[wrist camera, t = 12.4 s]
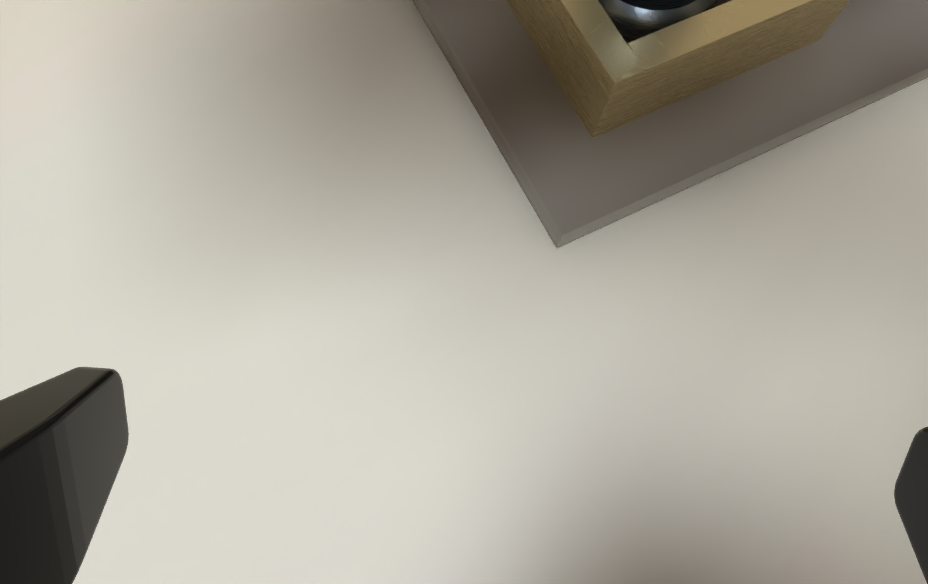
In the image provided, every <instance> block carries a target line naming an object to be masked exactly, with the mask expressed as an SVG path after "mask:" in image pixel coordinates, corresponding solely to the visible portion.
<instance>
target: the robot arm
mask: <svg viewBox="0 0 928 584" xmlns="http://www.w3.org/2000/svg"><path fill="white" fill-rule="evenodd" d="M128 435H129V433H128V423H127V415H126V407H125V399H124V391H123V384H122V380H121V377H120V375H119V373H118V372H117V371H115V370H114V369H107V368H93V367H77V368H74V369H72V370H70V371H68V372H65V373H63V374H61V375H58V376H56V377H54V378H51V379H49V380H47V381H44V382H42V383H40V384H37V385H35V386H33V387H30V388H28V389H26V390H24V391H21V392H19V393H17V394H14V395H12V396H10V397H7V398H5V399H3V400H0V584H72V583H73V581H74V579H75V577H76V575H77V573H78V571H79V569H80V566H81V564H82V562H83V559H84V557H85V554H86V552H87V550H88V547H89V545H90V542H91V539H92V537H93V534H94V532H95V529H96V527H97V524H98V522H99V519H100V517H101V514H102V512H103V509H104V506H105V504H106V501H107V499H108V496H109V494H110V491H111V489H112V486H113V484H114V481H115V479H116V476H117V474H118V471H119V468H120V466H121V463H122V461H123V458H124V456H125V453H126V449H127V445H128ZM894 496H895V503H896V506H897V509H898V512H899V514H900V517H901V519H902V522H903V524H904V527H905V529H906V532H907V535H908V537H909V540H910V542H911V545H912V547H913V550H914V552H915V555H916V557H917V560H918V562H919V565H920V567H921V570H922V572H923V575H924V577H925V580H926V582H927V584H928V427H925V428H923V429H921V430H919V431H918V432H917V434H916V435H915V437H914V438H913V441H912V443H911V446H910V448H909V451H908V453H907V456H906V458H905V461H904V463H903V466H902V468H901V471H900V473H899V476H898V478H897V481H896V484H895V491H894Z"/></svg>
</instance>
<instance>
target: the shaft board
mask: <svg viewBox="0 0 928 584" xmlns="http://www.w3.org/2000/svg"><path fill="white" fill-rule="evenodd" d="M729 1H732V0H718V1H717V3H716V5H715V7H717V6H719V5H722V4H724V3H727V2H729ZM413 2H414V4H415V5H416V7H417V9H418V10H419V12H420V14H421V16H422V17H423V19H424V21H425V23H426V24H427V26H428V28H429V29H430V31H431V33H432V35H433V36H434V38H435V40H436V41H437V43H438V45H439V47H440V48H441V50H442V52H443V53H444V55H445V57H446V59H447V60H448V62H449V64H450V65H451V67H452V69H453V71H454V72H455V74H456V76H457V78H458V79H459V81H460V83H461V84H462V86H463V88H464V90H465V91H466V93H467V95H468V96H469V98H470V100H471V102H472V103H473V105H474V107H475V108H476V110H477V112H478V114H479V115H480V117H481V119H482V120H483V122H484V124H485V126H486V127H487V129H488V131H489V133H490V134H491V136H492V138H493V139H494V141H495V143H496V145H497V146H498V148H499V150H500V151H501V153H502V155H503V157H504V158H505V160H506V162H507V163H508V165H509V167H510V169H511V170H512V172H513V174H514V175H515V177H516V179H517V181H518V182H519V184H520V186H521V188H522V189H523V191H524V193H525V194H526V196H527V198H528V200H529V201H530V203H531V205H532V206H533V208H534V210H535V212H536V213H537V215H538V217H539V218H540V220H541V222H542V224H543V225H544V227H545V229H546V230H547V232H548V234H549V236H550V237H551V239H552V241H553V243H554V244H555V246H556V248H558V247H560V246H563V245H565V244H567V243H569V242H571V241H573V240H576V239H578V238H580V237H582V236H584V235H586V234H589V233H591V232H593V231H595V230H597V229H599V228H602V227H604V226H606V225H608V224H610V223H612V222H615V221H617V220H619V219H621V218H623V217H625V216H628V215H630V214H632V213H634V212H636V211H639V210H641V209H643V208H645V207H647V206H649V205H652V204H654V203H656V202H658V201H660V200H662V199H665V198H667V197H669V196H671V195H673V194H675V193H678V192H680V191H682V190H684V189H686V188H688V187H691V186H693V185H695V184H697V183H699V182H701V181H704V180H706V179H708V178H710V177H712V176H714V175H717V174H719V173H721V172H723V171H725V170H728V169H730V168H732V167H734V166H736V165H738V164H741V163H743V162H745V161H747V160H749V159H751V158H754V157H756V156H758V155H760V154H762V153H764V152H767V151H769V150H771V149H773V148H775V147H777V146H780V145H782V144H784V143H786V142H788V141H790V140H793V139H795V138H797V137H799V136H801V135H803V134H806V133H808V132H810V131H812V130H814V129H817V128H819V127H821V126H823V125H825V124H827V123H830V122H832V121H834V120H836V119H838V118H840V117H843V116H845V115H847V114H849V113H851V112H853V111H856V110H858V109H860V108H862V107H864V106H866V105H869V104H871V103H873V102H875V101H877V100H879V99H882V98H884V97H886V96H888V95H890V94H892V93H895V92H897V91H899V90H901V89H903V88H906V87H908V86H910V85H912V84H914V83H916V82H919V81H921V80H923V79H925V78H927V77H928V0H850V1H849V2H848V4H847V5H846V6H845V7H844V9H843V10H842V11H841V13H840V14H839V15H838V17H837V18H836V19H835V21H834V22H833V23H832V25H831V26H830V27H829V29H828V30H827V31H826V33H825V34H824V35H823V36H822V38H821V39H820V40H819V41H816V42H814V43H812V44H809V45H807V46H805V47H803V48H800V49H798V50H796V51H793V52H791V53H789V54H786V55H784V56H782V57H779V58H777V59H775V60H772V61H770V62H768V63H766V64H763V65H761V66H759V67H756V68H754V69H752V70H749V71H747V72H745V73H742V74H740V75H738V76H736V77H733V78H731V79H729V80H726V81H724V82H722V83H719V84H717V85H715V86H712V87H710V88H708V89H706V90H703V91H701V92H699V93H696V94H694V95H692V96H689V97H687V98H685V99H682V100H680V101H678V102H676V103H673V104H671V105H669V106H666V107H664V108H662V109H659V110H657V111H655V112H652V113H650V114H648V115H646V116H643V117H641V118H639V119H636V120H634V121H632V122H629V123H627V124H625V125H622V126H620V127H618V128H616V129H613V130H611V131H609V132H606V133H604V134H602V135H599V136H597V137H595V138H592V137H591V136H590V134H589V133H588V131H587V129H586V128H585V126H584V125H583V123H582V121H581V120H580V118H579V117H578V115H577V113H576V112H575V110H574V109H573V107H572V105H571V104H570V102H569V101H568V99H567V97H566V96H565V94H564V93H563V91H562V89H561V88H560V86H559V85H558V83H557V82H556V80H555V78H554V77H553V75H552V74H551V72H550V70H549V69H548V67H547V66H546V64H545V62H544V61H543V59H542V58H541V56H540V54H539V53H538V51H537V50H536V48H535V46H534V45H533V43H532V42H531V40H530V38H529V37H528V35H527V34H526V32H525V30H524V29H523V27H522V26H521V24H520V22H519V21H518V19H517V18H516V16H515V14H514V13H513V11H512V10H511V8H510V6H509V5H508V3H507V2H506V0H413ZM715 7H714V8H715Z"/></svg>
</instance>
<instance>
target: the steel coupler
mask: <svg viewBox="0 0 928 584" xmlns="http://www.w3.org/2000/svg"><path fill="white" fill-rule="evenodd" d="M598 1H599V3H600V4H601V6H602V7H603V9H604V10H605V12H606V13H607V15H608V16H609V18H610V19H611V21H612V22H613V24H614V25H615V27H616V28H617V30H618V31H619V33H620V34H621V36H622V37H623V39H624V40H625V42H626V43H629V42H632V41H634V40H636V39H639V38H641V37H644V36H646V35H649V34H651V33H654V32H656V31H658V30H661V29H663V28H666V27H668V26H671V25H673V24H676V23H678V22H680V21H683V20H685V19H688V18H690V17H693V16H695V15H698V14H700V13H702V12H705V11H707V10H710V9H712V8H714V7H715V5H716V3H717V1H718V0H598Z"/></svg>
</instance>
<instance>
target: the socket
mask: <svg viewBox="0 0 928 584" xmlns="http://www.w3.org/2000/svg"><path fill="white" fill-rule="evenodd" d="M849 1H850V0H732V1H729V2H727V3H724V4H722V5H719V6H717V7H715V8H712V9H710V10H707V11H705V12H702V13H700V14H698V15H695V16H693V17H690V18H688V19H685V20H683V21H680V22H678V23H676V24H673V25H671V26H668V27H666V28H663V29H661V30H658V31H656V32H654V33H651V34H649V35H646V36H644V37H641V38H639V39H636V40H634V41H632V42H629V43H626V42H625V40H624V39H623V37H622V36H621V34H620V33H619V31H618V30H617V28H616V27H615V25H614V24H613V22H612V21H611V19H610V18H609V16H608V15H607V13H606V12H605V10H604V9H603V7H602V6H601V4H600V3H599V1H598V0H506V2H507V3H508V5H509V6H510V8H511V10H512V11H513V13H514V14H515V16H516V18H517V19H518V21H519V22H520V24H521V26H522V27H523V29H524V30H525V32H526V34H527V35H528V37H529V38H530V40H531V42H532V43H533V45H534V46H535V48H536V50H537V51H538V53H539V54H540V56H541V58H542V59H543V61H544V62H545V64H546V66H547V67H548V69H549V70H550V72H551V74H552V75H553V77H554V78H555V80H556V82H557V83H558V85H559V86H560V88H561V89H562V91H563V93H564V94H565V96H566V97H567V99H568V101H569V102H570V104H571V105H572V107H573V109H574V110H575V112H576V113H577V115H578V117H579V118H580V120H581V121H582V123H583V125H584V126H585V128H586V129H587V131H588V133H589V134H590V136H591V137H592V138H595V137H597V136H599V135H602V134H604V133H606V132H609V131H611V130H613V129H616V128H618V127H620V126H622V125H625V124H627V123H629V122H632V121H634V120H636V119H639V118H641V117H643V116H646V115H648V114H650V113H652V112H655V111H657V110H659V109H662V108H664V107H666V106H669V105H671V104H673V103H676V102H678V101H680V100H682V99H685V98H687V97H689V96H692V95H694V94H696V93H699V92H701V91H703V90H706V89H708V88H710V87H712V86H715V85H717V84H719V83H722V82H724V81H726V80H729V79H731V78H733V77H736V76H738V75H740V74H742V73H745V72H747V71H749V70H752V69H754V68H756V67H759V66H761V65H763V64H766V63H768V62H770V61H772V60H775V59H777V58H779V57H782V56H784V55H786V54H789V53H791V52H793V51H796V50H798V49H800V48H803V47H805V46H807V45H809V44H812V43H814V42H816V41H819V40H820V39H821V38H822V36H823V35H824V34H825V33H826V31H827V30H828V29H829V27H830V26H831V25H832V23H833V22H834V21H835V19H836V18H837V17H838V15H839V14H840V13H841V11H842V10H843V9H844V7H845V6H846V5H847V4H848V2H849Z"/></svg>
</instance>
